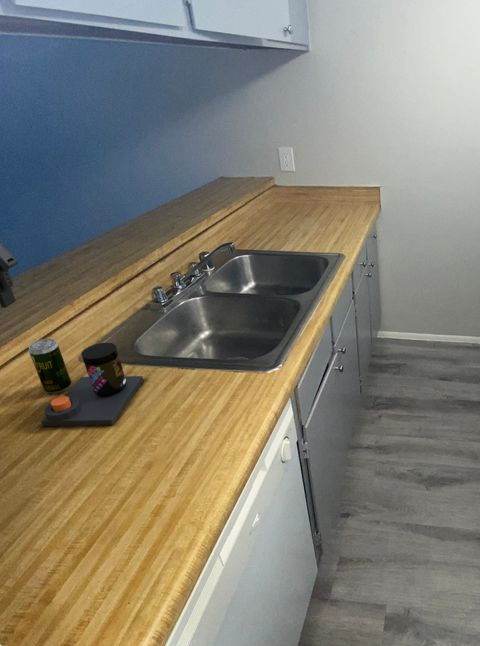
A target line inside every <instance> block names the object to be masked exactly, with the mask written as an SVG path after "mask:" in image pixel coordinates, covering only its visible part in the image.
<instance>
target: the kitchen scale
mask: <svg viewBox="0 0 480 646" xmlns="http://www.w3.org/2000/svg"><path fill="white" fill-rule="evenodd" d="M125 379H126V382H127V383H126V387H125V388H124V389H123V390H122V391H121V392H119V393H117V394H115V395H111V396H99V395H97V394H95V393H94V391H93V388H92V385H91V382H90V379H89V376H81V377H80V378H79V379H78V380H77V381H76V382H75V383H74V384H73V385H72V386H71V387H70V388H69V389H68V391H67V392H66V393H65V395H63V396H67V397H69V400H70V402H71V407H69V408H68V409H66V410H63V411H60V412H55V411H54V410H53V408H52V405H51V402H50V403H48V404H47V405H46V406H45V407H44V415H45V416H44V418H42V420H41V421H40V422H41V425H42V427H75V426H77V427H79V426H113V425H115V422H116V421H117V420H118V418H119V417H120V415H122V412H123V411H124V409H126V407H127V405H128V404H129V403H130V401H131V399H132V398H133V397H134V395H135V394H136V392H137V391H138V390H139V388H140V386H141V385H142V384H143V382H144V376H143V375H127V376H126V375H125Z"/></svg>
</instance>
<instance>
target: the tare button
mask: <svg viewBox="0 0 480 646" xmlns="http://www.w3.org/2000/svg"><path fill="white" fill-rule="evenodd" d="M50 403H51V405H52V408H53V410H54V411H55V412H60V411H63V410H66V409H68V408H69V407H71V402H70V400H69V397H67V396H64V395H62V396H58V397H55V398H54V399H52V400H51V401H50Z"/></svg>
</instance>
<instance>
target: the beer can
mask: <svg viewBox="0 0 480 646" xmlns="http://www.w3.org/2000/svg"><path fill="white" fill-rule="evenodd" d="M28 349H29V350H28V354H29V356H30V359H31V361H32V364H33V366H34V368H35V371H36V373H37V374H36V375H37V376H38V379H39V381H40V383H41V386H42V389H43V391H45V393H47V394H49V395H57V394H58V395H59V394H61V393H63V392H65V391H67V390H69V389H70V388H71V387H72V386H71V385H72V380H71V376H70V374H69V371H68V367H67V366H66V363H65V360H64V358H63V354H62V351H61V349H60V346H59V343H57V341H56V339H54V338H43V339H38V340H36V341H33V342H31V343H30V344H29V345H28Z"/></svg>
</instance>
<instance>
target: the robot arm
mask: <svg viewBox="0 0 480 646" xmlns="http://www.w3.org/2000/svg"><path fill="white" fill-rule="evenodd" d="M18 264H19V262H18V259H16V257H15V256H14V255H13V254H12V253H11V252H10V251H9V250H8V248H6V247H5V246H4V245H3V244H2V242H0V307H1V308H3V309H4V308H8V307H9V306H11V305H12V304H14V303H16V302H17V300H16V297H15V295H14V292H13V289H12V287H14V282H13V280H12V279H13V278H12V276H11V273H10V272H9V270H10V269H12V268H14V267H15V266H17V265H18Z"/></svg>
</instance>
